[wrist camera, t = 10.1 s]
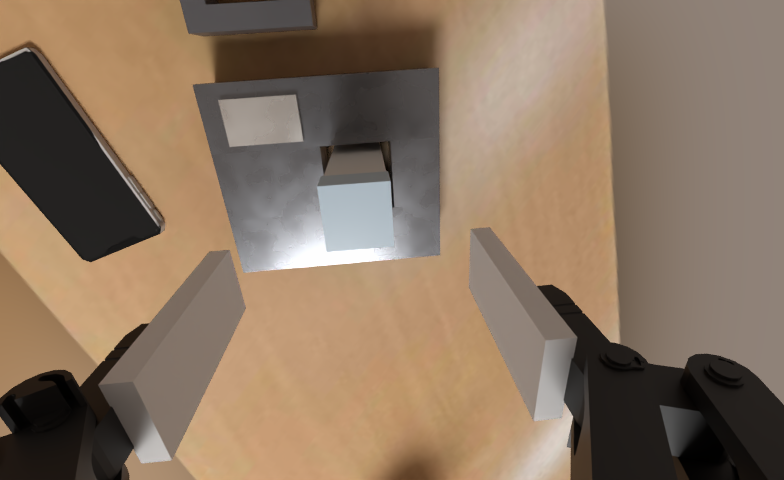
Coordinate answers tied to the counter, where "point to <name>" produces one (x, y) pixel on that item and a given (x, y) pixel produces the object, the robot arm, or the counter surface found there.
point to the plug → (356, 199)
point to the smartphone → (68, 162)
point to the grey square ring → (247, 16)
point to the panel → (321, 159)
